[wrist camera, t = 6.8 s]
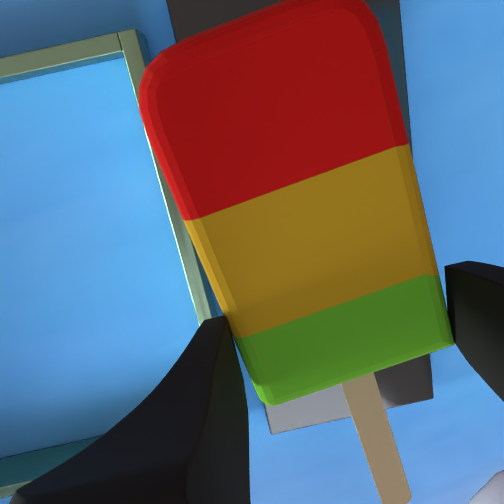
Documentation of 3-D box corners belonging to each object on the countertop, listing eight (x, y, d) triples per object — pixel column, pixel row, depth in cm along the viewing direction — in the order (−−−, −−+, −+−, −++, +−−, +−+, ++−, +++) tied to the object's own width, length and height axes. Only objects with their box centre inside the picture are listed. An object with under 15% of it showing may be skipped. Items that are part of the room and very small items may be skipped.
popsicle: (350, -20, 11) (376, -41, 9) (465, 455, 16) (496, 502, 14) (127, 65, 11) (109, 63, 9) (311, 505, 16) (323, 557, 14)
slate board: (427, 388, 23) (434, 398, 22) (269, 424, 23) (271, 435, 22) (387, -49, 17) (395, -55, 16) (167, 0, 17) (164, -4, 16)
